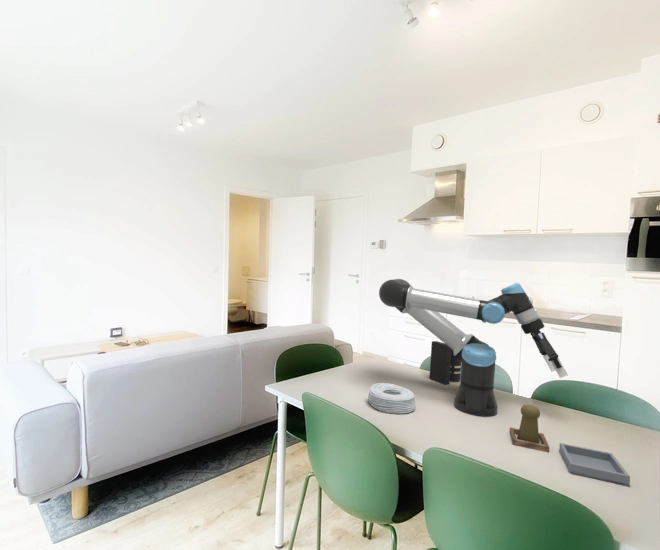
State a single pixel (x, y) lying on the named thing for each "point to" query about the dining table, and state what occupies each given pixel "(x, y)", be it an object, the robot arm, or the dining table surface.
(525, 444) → the socket holder
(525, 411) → the cork
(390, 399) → the cable
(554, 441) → the dining table surface
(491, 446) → the dining table surface
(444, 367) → the light fixture
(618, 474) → the tray
